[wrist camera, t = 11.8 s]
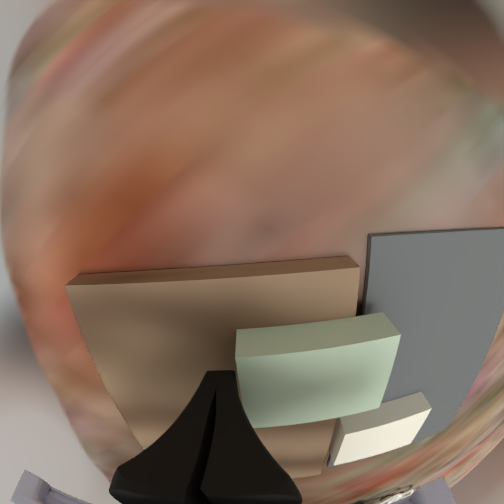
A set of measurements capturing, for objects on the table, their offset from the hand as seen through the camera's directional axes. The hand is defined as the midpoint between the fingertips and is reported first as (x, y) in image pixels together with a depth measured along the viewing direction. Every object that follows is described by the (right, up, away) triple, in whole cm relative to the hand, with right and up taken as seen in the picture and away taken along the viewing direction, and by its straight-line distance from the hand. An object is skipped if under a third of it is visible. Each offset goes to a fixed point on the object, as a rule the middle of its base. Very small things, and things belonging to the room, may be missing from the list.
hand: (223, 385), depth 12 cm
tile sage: (+4, +1, +1) cm, 5 cm away
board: (0, -4, +4) cm, 6 cm away
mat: (+15, -3, +4) cm, 15 cm away
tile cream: (+11, -7, +5) cm, 14 cm away
